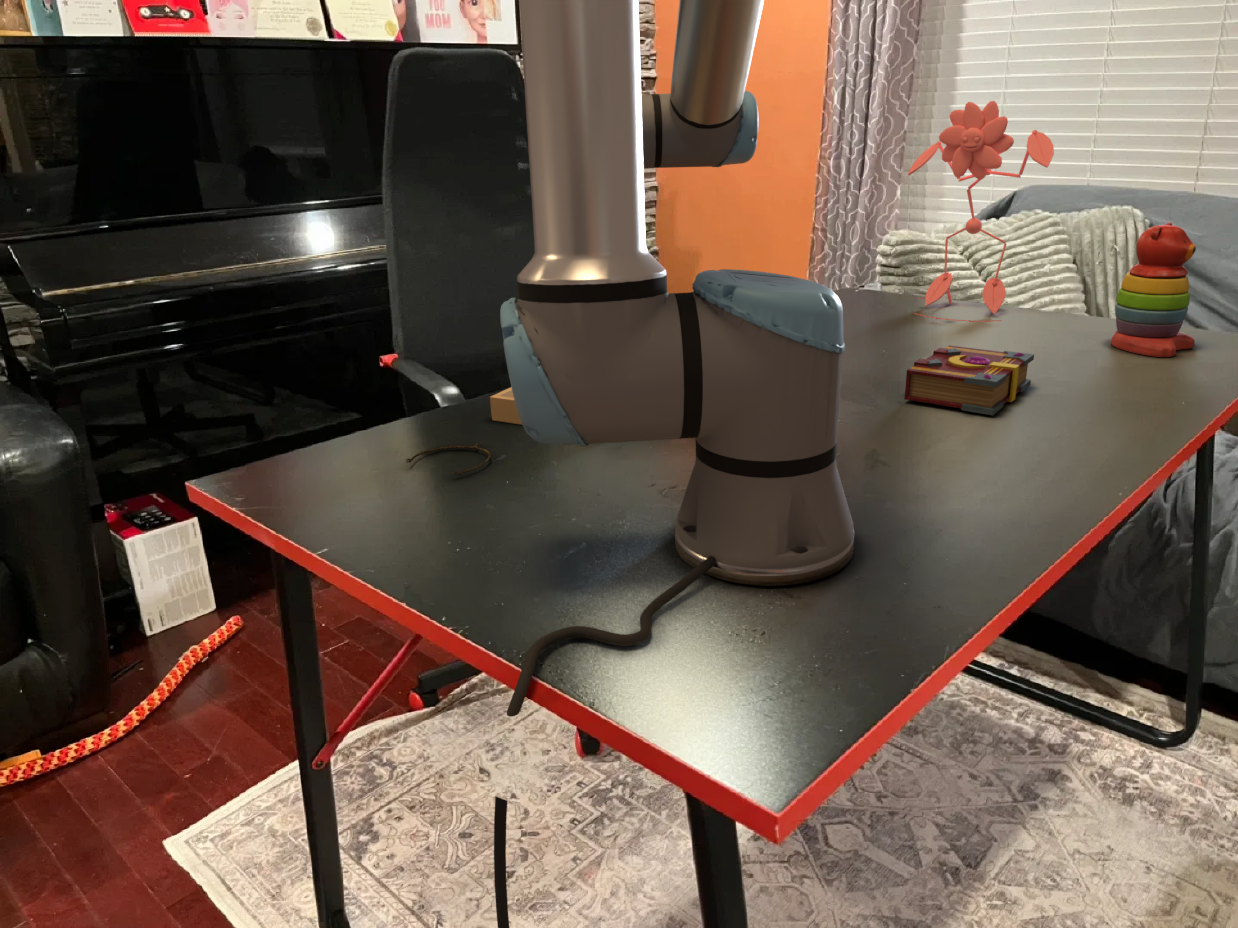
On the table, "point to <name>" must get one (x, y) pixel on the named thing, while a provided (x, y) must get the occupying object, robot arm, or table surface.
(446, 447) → the accessory
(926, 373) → the decorative book
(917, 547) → the table surface
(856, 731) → the table surface
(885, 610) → the table surface
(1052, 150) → the figurine
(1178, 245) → the stacking bear
